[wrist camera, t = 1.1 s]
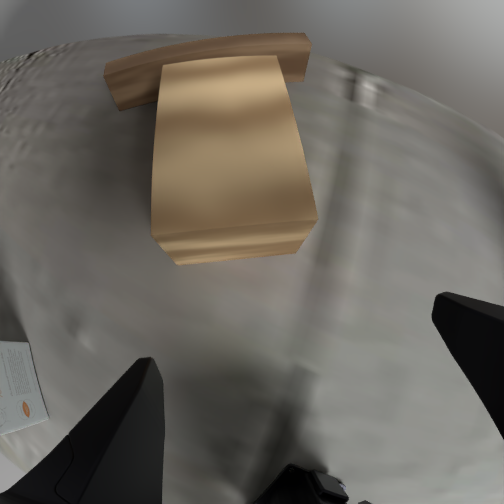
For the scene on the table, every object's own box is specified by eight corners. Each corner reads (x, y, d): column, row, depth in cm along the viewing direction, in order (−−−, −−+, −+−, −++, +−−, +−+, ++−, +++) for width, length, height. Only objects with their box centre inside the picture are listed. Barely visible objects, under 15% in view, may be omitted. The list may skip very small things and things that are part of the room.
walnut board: (303, 81, 31) (311, 44, 25) (119, 111, 29) (103, 75, 23) (297, 69, 31) (304, 32, 25) (121, 97, 29) (106, 62, 24)
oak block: (295, 253, 25) (318, 219, 17) (178, 265, 24) (151, 235, 17) (269, 111, 29) (276, 55, 22) (176, 119, 29) (162, 65, 21)
